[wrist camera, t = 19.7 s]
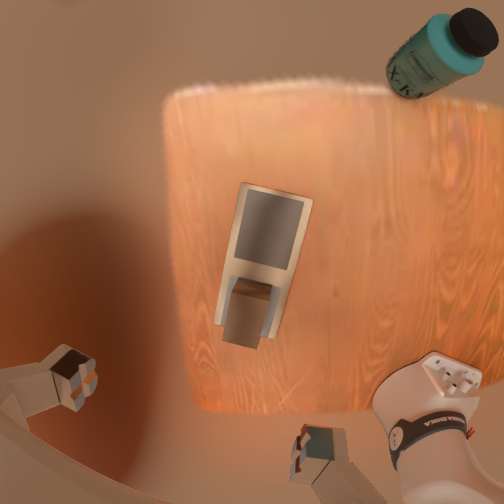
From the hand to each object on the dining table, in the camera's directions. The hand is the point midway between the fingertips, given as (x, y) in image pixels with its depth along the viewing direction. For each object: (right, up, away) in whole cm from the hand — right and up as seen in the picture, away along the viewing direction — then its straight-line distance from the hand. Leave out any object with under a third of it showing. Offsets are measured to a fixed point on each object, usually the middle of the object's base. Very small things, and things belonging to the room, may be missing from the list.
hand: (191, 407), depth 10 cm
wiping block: (+2, -1, +31) cm, 31 cm away
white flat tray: (+3, +4, +31) cm, 31 cm away
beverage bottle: (+22, +28, +22) cm, 42 cm away
